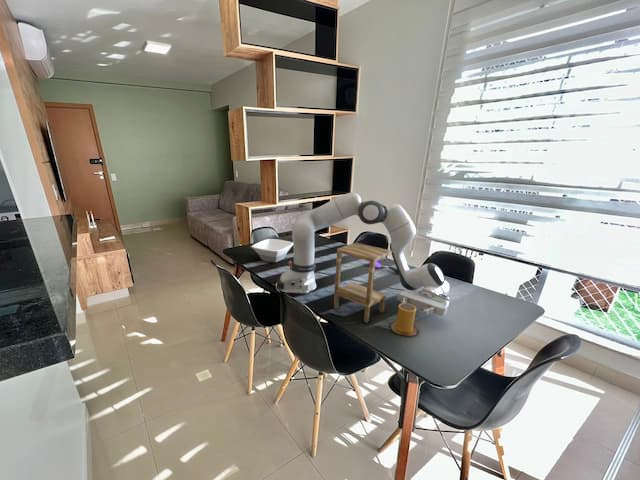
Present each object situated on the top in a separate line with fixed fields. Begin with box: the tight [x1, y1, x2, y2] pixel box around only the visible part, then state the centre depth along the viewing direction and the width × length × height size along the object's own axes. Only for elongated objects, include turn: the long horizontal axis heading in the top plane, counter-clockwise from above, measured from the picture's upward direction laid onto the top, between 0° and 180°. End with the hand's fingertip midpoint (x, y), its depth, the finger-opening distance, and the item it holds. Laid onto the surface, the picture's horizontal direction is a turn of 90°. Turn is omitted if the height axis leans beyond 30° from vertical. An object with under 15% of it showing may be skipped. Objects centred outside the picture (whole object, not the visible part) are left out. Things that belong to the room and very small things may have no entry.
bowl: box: [250, 238, 293, 263], centre depth 201 cm, size 24×25×10 cm
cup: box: [395, 302, 417, 333], centre depth 117 cm, size 7×7×10 cm
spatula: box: [368, 260, 399, 274], centre depth 180 cm, size 24×7×2 cm, turn 37°
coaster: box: [390, 321, 418, 337], centre depth 119 cm, size 10×10×1 cm
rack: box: [333, 242, 392, 324], centre depth 129 cm, size 14×18×30 cm
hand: (413, 308), depth 120 cm, fingers open, 8 cm apart
